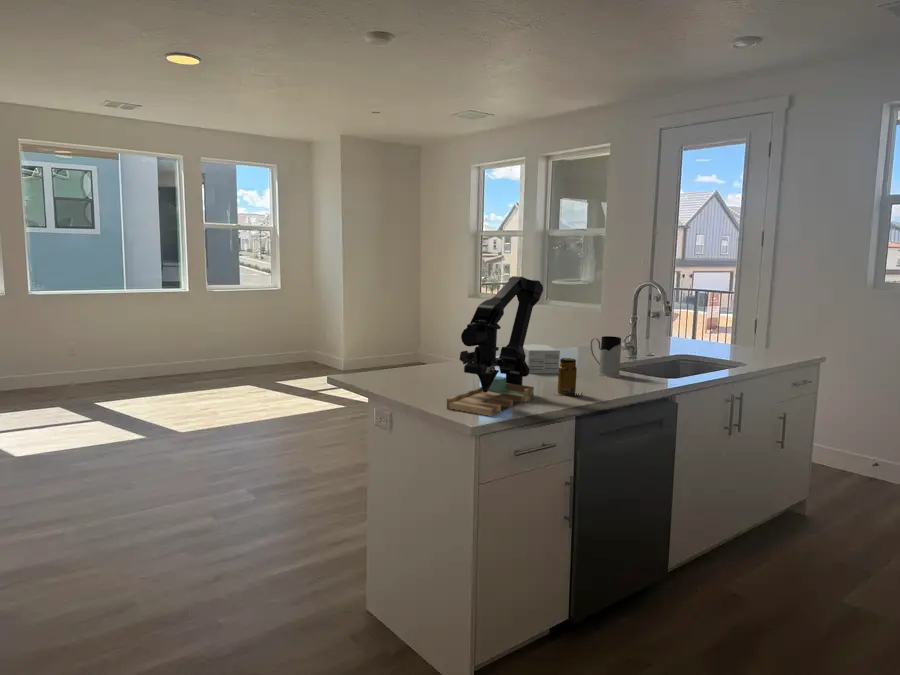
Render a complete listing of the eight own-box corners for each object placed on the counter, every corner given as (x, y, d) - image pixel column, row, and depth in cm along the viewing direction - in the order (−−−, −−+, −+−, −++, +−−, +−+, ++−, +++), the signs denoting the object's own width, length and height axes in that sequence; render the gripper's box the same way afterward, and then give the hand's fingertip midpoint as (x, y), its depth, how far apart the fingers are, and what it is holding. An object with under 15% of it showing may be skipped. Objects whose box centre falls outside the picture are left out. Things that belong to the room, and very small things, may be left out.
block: (492, 387, 215) (492, 375, 214) (505, 389, 212) (506, 377, 212) (485, 390, 211) (485, 378, 210) (498, 392, 208) (499, 380, 207)
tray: (489, 392, 217) (490, 380, 216) (533, 399, 208) (533, 387, 208) (446, 408, 193) (446, 395, 192) (493, 416, 185) (494, 403, 184)
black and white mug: (611, 378, 248) (613, 339, 246) (582, 371, 259) (584, 335, 257) (624, 375, 253) (627, 338, 251) (596, 369, 264) (598, 333, 262)
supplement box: (559, 373, 255) (560, 350, 253) (527, 373, 252) (528, 350, 251) (546, 365, 271) (547, 343, 270) (516, 365, 269) (517, 343, 268)
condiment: (557, 390, 223) (559, 356, 221) (582, 393, 220) (584, 358, 218) (554, 395, 216) (556, 360, 214) (580, 397, 213) (582, 362, 212)
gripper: (479, 338, 214) (477, 384, 216) (450, 344, 198) (448, 393, 200) (509, 342, 208) (506, 389, 210) (481, 347, 192) (479, 398, 194)
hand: (485, 392), depth 204 cm, fingers closed
